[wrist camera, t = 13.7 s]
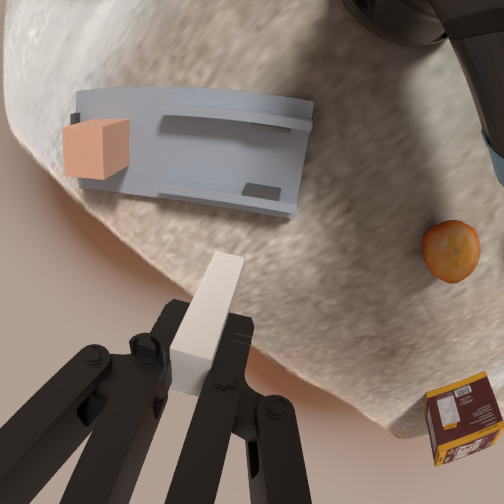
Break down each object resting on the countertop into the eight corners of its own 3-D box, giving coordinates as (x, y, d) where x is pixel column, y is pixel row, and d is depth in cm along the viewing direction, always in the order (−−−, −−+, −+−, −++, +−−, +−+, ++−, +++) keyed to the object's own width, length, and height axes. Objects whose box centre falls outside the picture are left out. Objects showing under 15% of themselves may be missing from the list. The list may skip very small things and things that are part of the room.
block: (91, 119, 33) (62, 127, 28) (129, 118, 32) (102, 126, 27) (92, 162, 36) (65, 176, 31) (129, 165, 35) (104, 179, 30)
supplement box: (479, 393, 52) (495, 444, 39) (424, 412, 57) (433, 467, 44) (486, 370, 48) (506, 426, 34) (425, 392, 53) (438, 453, 39)
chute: (83, 90, 32) (62, 93, 28) (313, 101, 30) (316, 102, 26) (85, 184, 39) (67, 195, 35) (293, 214, 37) (292, 230, 34)
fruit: (429, 287, 38) (440, 296, 31) (410, 235, 39) (418, 234, 32) (475, 265, 35) (494, 270, 28) (456, 214, 36) (473, 208, 29)
